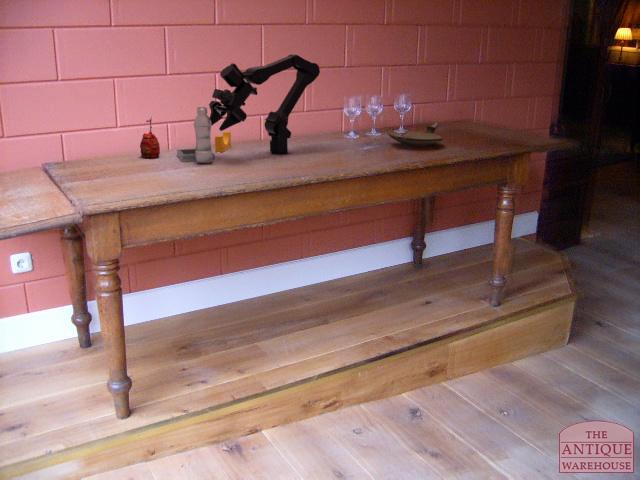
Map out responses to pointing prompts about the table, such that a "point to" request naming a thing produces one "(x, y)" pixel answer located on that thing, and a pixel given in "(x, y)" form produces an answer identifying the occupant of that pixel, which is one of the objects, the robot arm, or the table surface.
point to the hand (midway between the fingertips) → (213, 128)
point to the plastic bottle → (203, 136)
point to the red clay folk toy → (149, 144)
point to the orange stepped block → (223, 142)
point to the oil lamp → (418, 137)
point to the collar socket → (188, 155)
